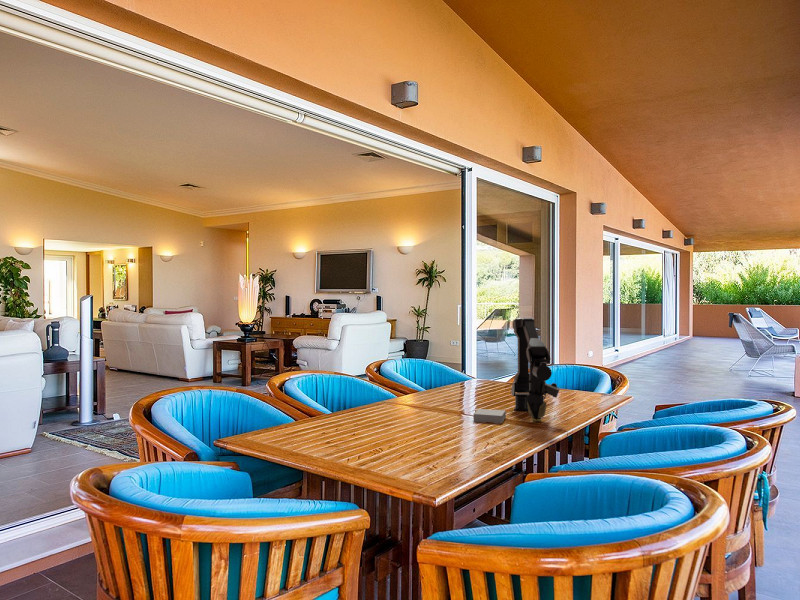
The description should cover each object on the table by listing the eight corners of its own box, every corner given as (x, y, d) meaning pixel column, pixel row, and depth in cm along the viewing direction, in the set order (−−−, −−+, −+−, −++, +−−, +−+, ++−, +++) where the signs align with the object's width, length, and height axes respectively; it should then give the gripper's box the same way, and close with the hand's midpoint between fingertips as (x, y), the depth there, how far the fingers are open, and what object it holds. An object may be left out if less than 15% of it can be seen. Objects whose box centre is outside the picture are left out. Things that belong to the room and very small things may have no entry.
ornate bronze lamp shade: (545, 420, 227) (545, 399, 227) (548, 424, 219) (548, 403, 219) (525, 419, 227) (526, 399, 227) (528, 423, 220) (528, 402, 220)
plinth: (478, 416, 234) (478, 408, 234) (505, 417, 230) (505, 410, 230) (473, 421, 223) (473, 413, 223) (501, 423, 220) (501, 415, 220)
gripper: (557, 381, 212) (557, 423, 212) (559, 375, 230) (559, 413, 230) (526, 380, 215) (526, 421, 215) (530, 373, 233) (530, 412, 233)
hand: (536, 417), depth 223 cm, fingers closed on ornate bronze lamp shade, 6 cm apart
